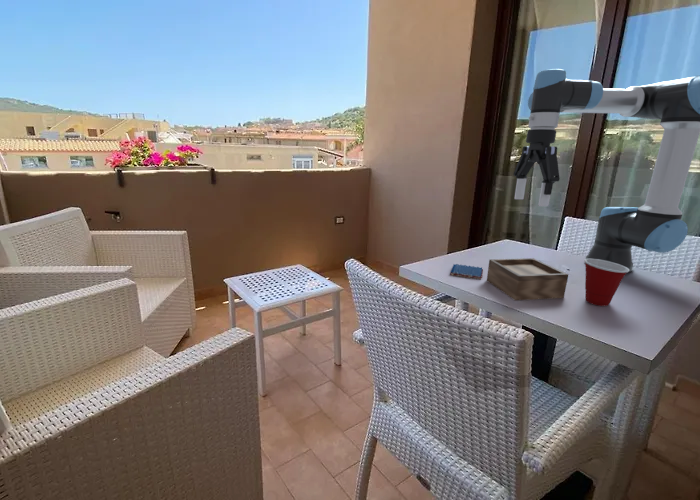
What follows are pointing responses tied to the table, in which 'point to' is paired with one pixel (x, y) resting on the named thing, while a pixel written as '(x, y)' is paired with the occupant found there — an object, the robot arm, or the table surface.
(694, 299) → the table surface
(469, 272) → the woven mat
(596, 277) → the plastic cup
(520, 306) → the table surface
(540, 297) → the open wooden box
